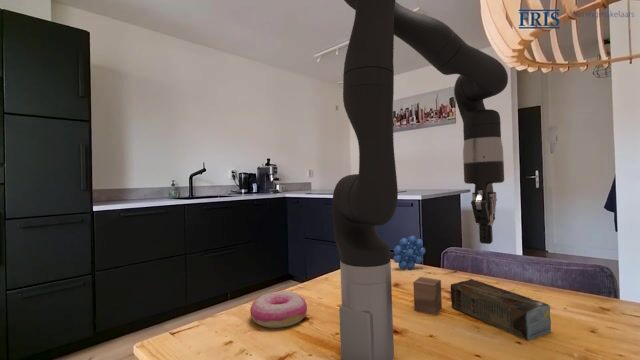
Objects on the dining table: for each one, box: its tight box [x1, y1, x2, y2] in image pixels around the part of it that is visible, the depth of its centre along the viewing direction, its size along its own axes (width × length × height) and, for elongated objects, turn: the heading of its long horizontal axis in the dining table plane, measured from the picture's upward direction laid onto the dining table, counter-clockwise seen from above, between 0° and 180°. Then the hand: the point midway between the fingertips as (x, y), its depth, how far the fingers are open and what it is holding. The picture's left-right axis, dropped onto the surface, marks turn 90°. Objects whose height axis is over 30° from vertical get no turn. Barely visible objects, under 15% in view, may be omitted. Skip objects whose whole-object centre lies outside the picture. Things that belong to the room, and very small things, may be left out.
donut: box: [249, 290, 308, 329], centre depth 75 cm, size 14×13×5 cm
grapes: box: [393, 235, 426, 270], centre depth 113 cm, size 12×7×12 cm, turn 93°
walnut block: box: [412, 276, 443, 316], centre depth 77 cm, size 5×5×7 cm
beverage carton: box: [450, 278, 552, 341], centre depth 71 cm, size 8×19×7 cm, turn 24°
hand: (486, 242), depth 66 cm, fingers closed
